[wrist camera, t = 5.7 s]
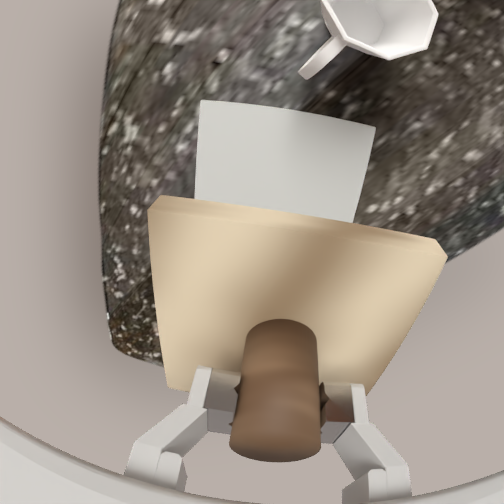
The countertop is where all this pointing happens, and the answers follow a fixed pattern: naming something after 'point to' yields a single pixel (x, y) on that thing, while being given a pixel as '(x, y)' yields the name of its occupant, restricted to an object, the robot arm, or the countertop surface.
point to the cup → (374, 29)
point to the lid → (282, 309)
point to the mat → (281, 159)
